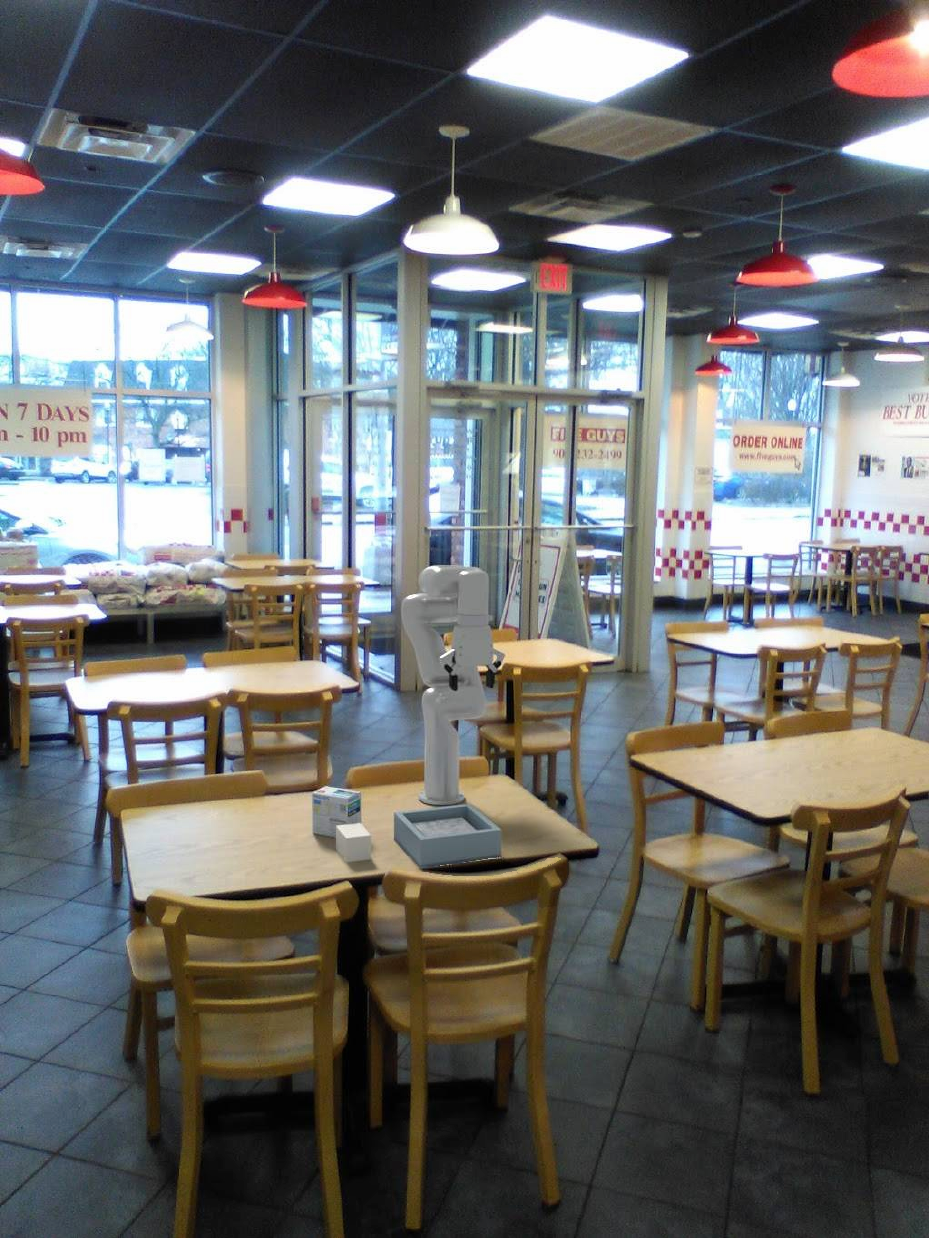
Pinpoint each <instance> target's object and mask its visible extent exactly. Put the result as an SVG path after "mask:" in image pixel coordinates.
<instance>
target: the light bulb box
mask: <svg viewBox="0 0 929 1238" xmlns="http://www.w3.org/2000/svg"><path fill="white" fill-rule="evenodd" d="M311 798H312V799H311V800H312V807H311V809H312V810H311V811H312V834H313V835H314V834H316V835H320V836H325V837H330V838H335V839H336V826H337V825H346V824H355V823H361V824H362V791H360V790H358V791H357V790H351V789H345V788H339V787H338V788H337V787H331V786H328V785H325V786H323V787H321V788H320V789H317V790H314V791H313V792H312V793H311Z"/></svg>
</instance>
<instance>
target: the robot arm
mask: <svg viewBox="0 0 929 1238" xmlns="http://www.w3.org/2000/svg"><path fill="white" fill-rule="evenodd" d="M489 579H490V578H489V574H488V573H487V572H486V571H485V570H482V568H480V567H477V566H464V565H460V564H459V565H456V564H454V565H453V564H452V565H450V564H449V565H445V564H444V565H442V564H441V565H431V566H427V567H426V568H424V569H423V570H422V571H421V572H420V574H419V577H418V586H419V588H420V589H421V591H422V592H423V593H421V592H420V593H416V594H411V595H408V596H407V597H405V598H403V600H402V603H401V604H400V605H401V606H400V616H401V621H402V624H403V627H404V630H405V633H406V635H407V637H408V638H409V640H410V642H411V645H412V646H413V649H414V653H415V657H416V658H415V659H416V661H417V666H418V670H419V675H420V677H421V681H422V683H423V684H424V685H426V687H429V688H427V689H426V690H425V691H424V692H423V693H422V696H421V708H422V709H421V710H422V714H423V722H424V784H423V787H424V789H423V790H421V791H420V792H419V793H418V799H419V801H421V802H422V803H425V804H428V805H433V806H452V805H455V804H456V805H457V804H459V803H461V802H463V801H464V799H465V793H464V792H463V791H461V790H459V789H460V741H461V740H460V734H459V733H458V731H457V729H456V728H455V727H454V726H453V725H452V723H451V722H452V721H461V720H473V719H474V720H475V719H479V718H481V717H483V715H485V713H486V710H487V700H486V699H487V698H486V695H485V690H484V686H483V682H482V679H481V676H480V672H479V668H478V667H486V668H487V670H486V671H485V687H488V688H489V689H494V685H495V683H496V677H495V676H496V673H497V671H498V669H499V668H500V667H501V666H502V664H503V661H504V658H505V657H506V654H505V653H503V652H501V651H499V650H498V649H496V648H494V641H493V632H492V628H491V626H490V625H489V624H490V622H491V621H493V620H494V616H493V615H492V614H489V598H490V597H489V595H490V593H489V590H490V589H489V588H490V587H489V586H490V585H489V584H490V580H489ZM456 622H457V625H454V627H453V631H452V636H451V644H450V650H449V651H447V650H446V649H447V648H446V646H445V642H444V639H443V637H442V636H441V635H440V634H439V633H438V632H437V631H436V630H435V629H434V628H433V627H431V626H430V625H429V624H442V623H443V624H444V623H456ZM494 656H496V660H495V661H494Z"/></svg>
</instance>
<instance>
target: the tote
mask: <svg viewBox="0 0 929 1238" xmlns="http://www.w3.org/2000/svg"><path fill="white" fill-rule="evenodd" d="M461 817H462V818H463V819H464V820H466V821H467V822H468V823H469V824H470V825H471V826H472V827H474V828H475V829H476V830H477V831H469V832H461V833H452V834H444V835H436V836H428V837H425V836H424V835H423V834H422V833H421V832H420V831H419V830H418V829H417V828H416V827H415V826H414V825H413V824H412V823H418V822H426V821H435V820H443V819H452V818H461ZM393 840H394V841H395V843H396V844H397V845H398V846H399V847H400V848H401V850H402V851H403V852H405V854H406V855H407V856H408V857H409V858H410V859H411V860H412V861H413V862H414V863H415V865H416V866H417V867H418V869H420V870H424V869H423V868H425V869H431V867H432V868H437V867H436V866H440V865H447V864H449V865H447V866H451V865H450V864H455V865H459V864H458V863H463V862H469V861H476V860H482V859H488V858H497V857H498V858H499V857H501V858H502V829H501V828H500V827H499V826H497V825H496V824H495V823H494V822H493V821H491V820H490V819H489V818H488V817H487V816H486V815H484V814H483V813H482V812H480V811H479V810H478V809H477V808H475V807H474V806H473V805H472V804H471V803H466V804H456V805H455V804H454V805H445V806H440V807H431V808H429V807H428V808H421V809H410V810H403V811H402V810H401V811H394V812H393ZM463 864H464V863H463ZM440 867H441V866H440Z"/></svg>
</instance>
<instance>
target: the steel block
mask: <svg viewBox="0 0 929 1238" xmlns="http://www.w3.org/2000/svg"><path fill="white" fill-rule="evenodd" d="M412 824H413V825H414V826H415V827H416V828H417V829H418V830H419V831H420V832H421V833H422V834H423V835H424V836H425V837H428V836H436V835H444V834H452V833H461V832H469V831H477V830H476V829H475V828H474V827H472V826H471V825H470V824H469V823H468V822H467V821H466V820H464V819H463V818H462V817H461V818H452V819H443V820H435V821H426V822H418V823H412Z"/></svg>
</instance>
